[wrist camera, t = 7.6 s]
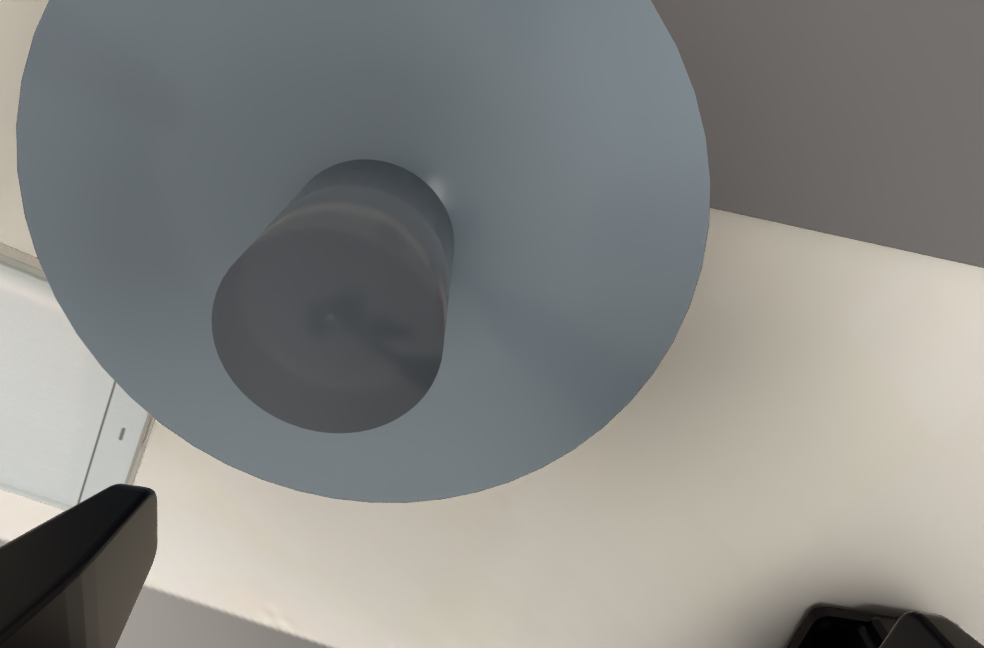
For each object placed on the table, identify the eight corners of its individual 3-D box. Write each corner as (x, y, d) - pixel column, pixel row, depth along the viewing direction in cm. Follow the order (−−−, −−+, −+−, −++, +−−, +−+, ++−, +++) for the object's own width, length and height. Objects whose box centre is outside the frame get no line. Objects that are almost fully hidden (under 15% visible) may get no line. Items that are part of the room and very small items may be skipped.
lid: (592, 512, 17) (631, 693, 13) (69, 427, 16) (-93, 597, 11) (801, -49, 12) (1001, -73, 7) (18, -256, 10) (-343, -447, 6)
